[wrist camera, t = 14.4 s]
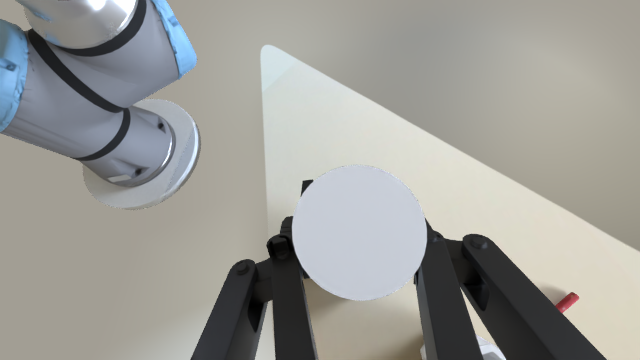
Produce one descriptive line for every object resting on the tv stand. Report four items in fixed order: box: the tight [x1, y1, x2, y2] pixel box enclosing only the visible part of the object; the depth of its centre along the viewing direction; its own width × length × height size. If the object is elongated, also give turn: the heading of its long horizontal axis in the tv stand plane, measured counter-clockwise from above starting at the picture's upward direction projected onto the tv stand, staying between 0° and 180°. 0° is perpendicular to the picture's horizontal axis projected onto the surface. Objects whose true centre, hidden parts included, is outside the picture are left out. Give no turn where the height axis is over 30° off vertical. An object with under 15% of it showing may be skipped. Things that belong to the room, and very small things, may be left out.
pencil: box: [555, 292, 579, 313], centre depth 31 cm, size 19×1×1 cm, turn 125°
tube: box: [292, 165, 427, 301], centre depth 15 cm, size 4×4×15 cm
